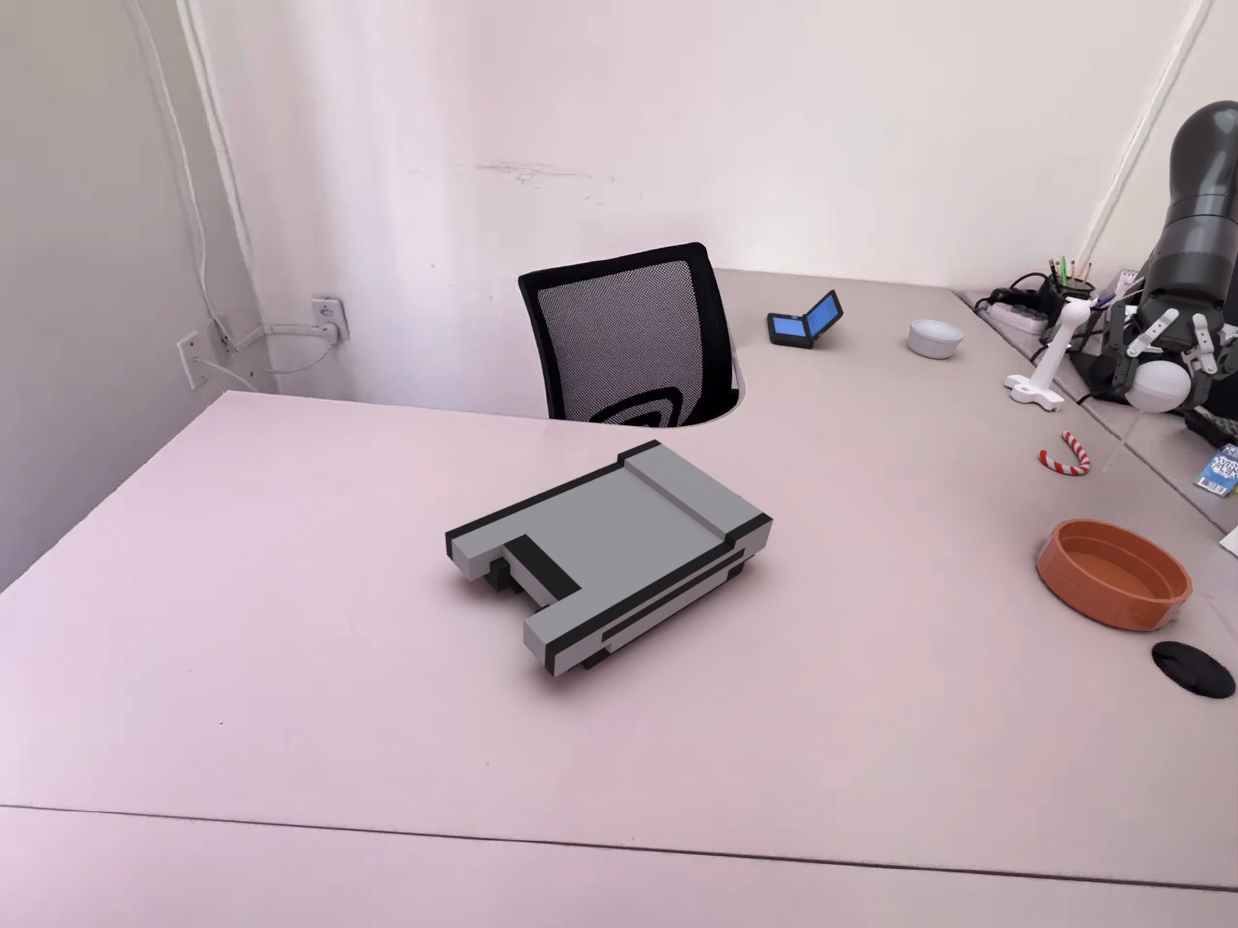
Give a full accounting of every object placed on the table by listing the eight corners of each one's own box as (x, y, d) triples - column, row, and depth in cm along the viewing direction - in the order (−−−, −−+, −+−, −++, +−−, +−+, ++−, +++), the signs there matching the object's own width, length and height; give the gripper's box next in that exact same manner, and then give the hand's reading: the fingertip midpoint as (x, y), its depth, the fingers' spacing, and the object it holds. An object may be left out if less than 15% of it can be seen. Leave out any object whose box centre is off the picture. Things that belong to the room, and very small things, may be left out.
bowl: (1140, 564, 90) (1162, 534, 87) (1188, 648, 78) (1216, 616, 75) (1022, 538, 92) (1040, 507, 89) (1051, 614, 80) (1073, 583, 77)
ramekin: (910, 335, 152) (918, 314, 149) (960, 351, 147) (969, 329, 144) (896, 350, 145) (904, 327, 142) (948, 366, 140) (958, 343, 137)
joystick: (1063, 410, 127) (1117, 313, 116) (1036, 414, 125) (1088, 315, 113) (1017, 383, 136) (1063, 290, 124) (991, 386, 133) (1035, 292, 122)
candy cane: (1087, 435, 117) (1093, 476, 106) (1084, 441, 117) (1089, 482, 106) (1040, 422, 119) (1040, 460, 108) (1036, 428, 120) (1037, 466, 109)
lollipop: (1084, 453, 85) (1146, 347, 76) (1136, 474, 81) (1207, 365, 73) (1070, 470, 81) (1134, 361, 72) (1124, 493, 78) (1197, 381, 69)
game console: (765, 317, 154) (774, 280, 149) (824, 325, 153) (834, 288, 148) (769, 344, 141) (779, 304, 136) (832, 353, 140) (845, 313, 135)
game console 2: (448, 577, 76) (444, 524, 72) (648, 486, 95) (655, 438, 90) (552, 701, 64) (555, 646, 59) (758, 568, 82) (773, 519, 78)
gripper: (1135, 237, 74) (1099, 371, 72) (1289, 263, 70) (1255, 406, 68) (1105, 271, 81) (1071, 394, 79) (1242, 296, 77) (1211, 427, 75)
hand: (1156, 399), depth 73 cm, fingers closed on lollipop, 6 cm apart
